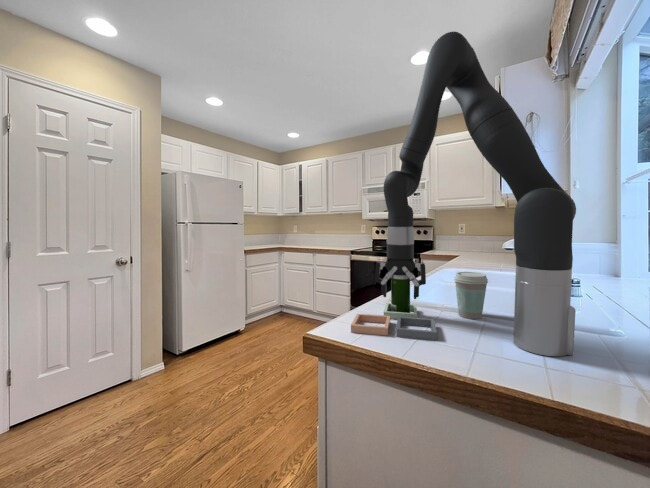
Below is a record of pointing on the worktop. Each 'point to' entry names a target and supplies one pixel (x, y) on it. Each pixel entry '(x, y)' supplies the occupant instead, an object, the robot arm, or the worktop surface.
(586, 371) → the worktop surface
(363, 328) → the terracotta frame
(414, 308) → the sage frame
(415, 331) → the charcoal frame
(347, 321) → the worktop surface
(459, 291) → the coffee cup
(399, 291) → the beer can
